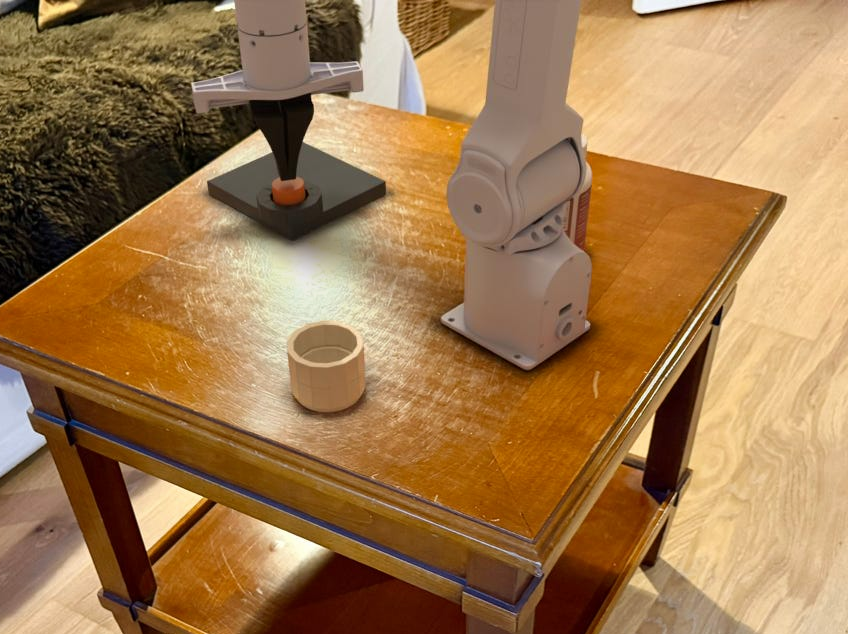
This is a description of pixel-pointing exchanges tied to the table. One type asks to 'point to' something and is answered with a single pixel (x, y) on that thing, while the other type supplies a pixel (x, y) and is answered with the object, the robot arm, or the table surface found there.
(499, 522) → the table surface
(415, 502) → the table surface
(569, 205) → the pill bottle
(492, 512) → the table surface
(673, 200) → the table surface
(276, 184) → the button
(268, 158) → the scale
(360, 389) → the beige hollow cylinder
